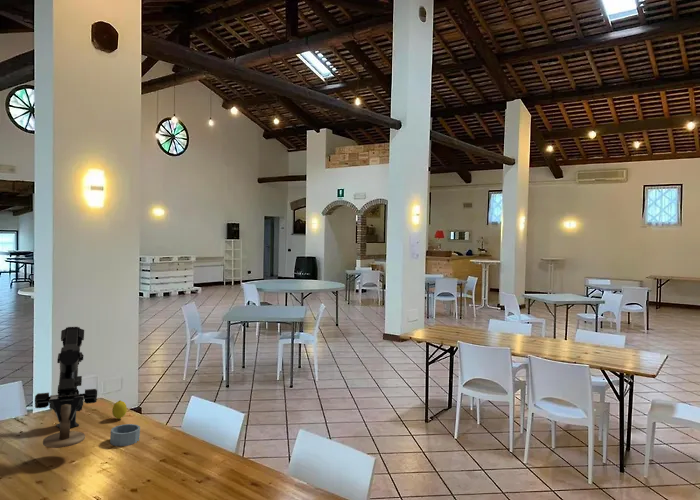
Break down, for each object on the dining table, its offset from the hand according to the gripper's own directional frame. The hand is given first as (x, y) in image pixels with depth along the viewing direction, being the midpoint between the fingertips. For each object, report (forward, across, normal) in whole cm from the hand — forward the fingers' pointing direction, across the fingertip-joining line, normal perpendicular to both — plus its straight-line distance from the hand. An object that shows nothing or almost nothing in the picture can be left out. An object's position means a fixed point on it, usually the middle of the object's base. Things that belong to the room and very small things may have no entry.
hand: (65, 420), depth 161 cm
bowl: (+2, +20, +17) cm, 26 cm away
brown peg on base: (+4, 0, +6) cm, 7 cm away
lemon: (-16, +19, +35) cm, 43 cm away
